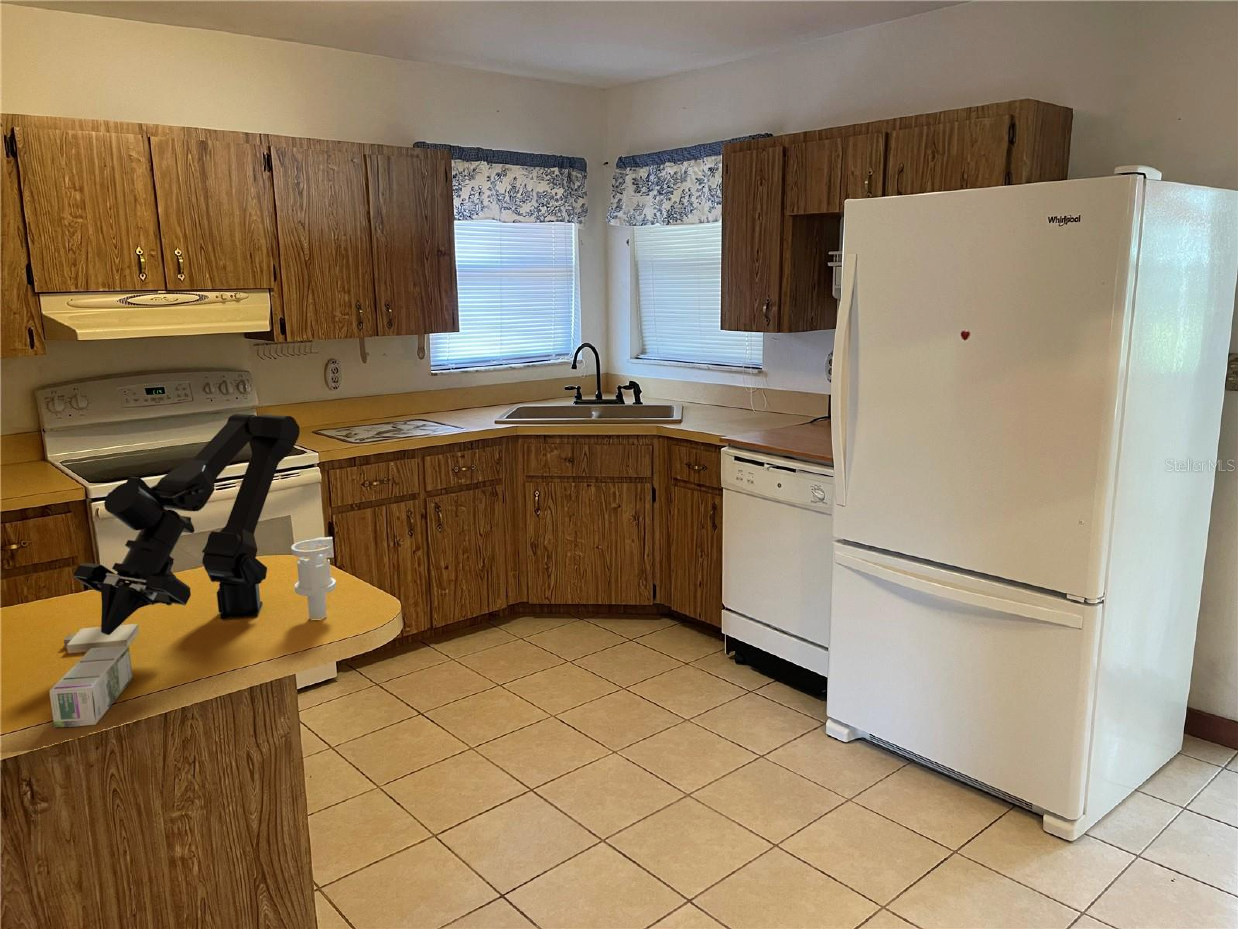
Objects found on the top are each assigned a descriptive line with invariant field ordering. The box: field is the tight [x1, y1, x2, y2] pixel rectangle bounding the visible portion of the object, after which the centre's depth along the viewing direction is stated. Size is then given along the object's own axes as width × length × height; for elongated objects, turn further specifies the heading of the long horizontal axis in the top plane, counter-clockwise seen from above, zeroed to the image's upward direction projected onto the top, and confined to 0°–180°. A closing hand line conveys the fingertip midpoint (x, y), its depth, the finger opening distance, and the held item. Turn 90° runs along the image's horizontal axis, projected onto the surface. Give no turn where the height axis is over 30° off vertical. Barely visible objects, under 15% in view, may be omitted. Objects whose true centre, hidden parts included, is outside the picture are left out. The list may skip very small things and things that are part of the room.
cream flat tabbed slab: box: [63, 623, 140, 654], centre depth 152 cm, size 10×7×2 cm
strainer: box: [290, 536, 337, 620], centre depth 161 cm, size 7×7×15 cm
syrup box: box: [49, 646, 134, 728], centre depth 131 cm, size 6×6×14 cm
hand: (105, 633), depth 137 cm, fingers closed
